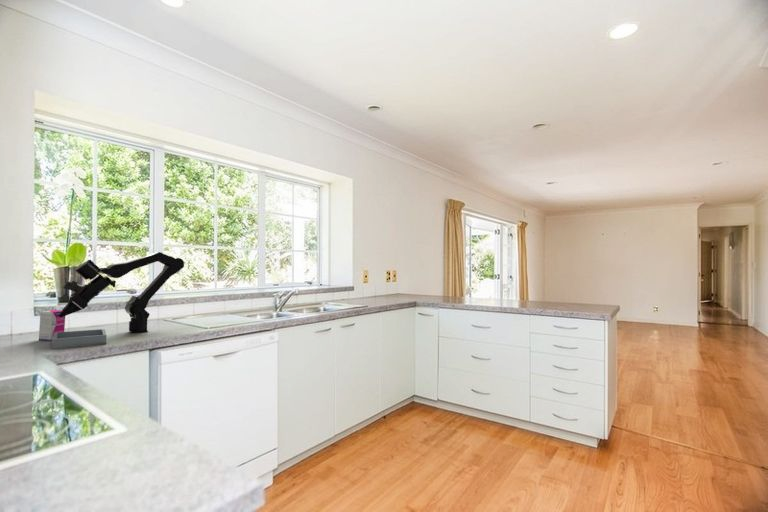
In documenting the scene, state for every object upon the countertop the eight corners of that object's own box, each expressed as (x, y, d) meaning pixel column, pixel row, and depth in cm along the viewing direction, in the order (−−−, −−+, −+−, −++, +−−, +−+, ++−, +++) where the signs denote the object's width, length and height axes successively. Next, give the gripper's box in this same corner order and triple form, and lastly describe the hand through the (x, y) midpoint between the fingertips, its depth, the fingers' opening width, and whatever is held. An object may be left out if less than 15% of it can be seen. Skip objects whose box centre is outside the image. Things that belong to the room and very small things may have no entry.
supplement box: (50, 341, 155) (51, 312, 155) (38, 340, 156) (39, 311, 157) (65, 338, 161) (66, 310, 161) (53, 337, 162) (54, 309, 162)
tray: (104, 337, 165) (104, 328, 165) (106, 344, 152) (106, 335, 152) (54, 341, 155) (54, 332, 155) (51, 349, 143) (52, 339, 143)
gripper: (78, 273, 171) (43, 299, 164) (78, 274, 156) (40, 303, 149) (100, 291, 176) (67, 317, 169) (102, 294, 161) (66, 323, 154)
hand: (60, 315), depth 160 cm, fingers open, 9 cm apart
